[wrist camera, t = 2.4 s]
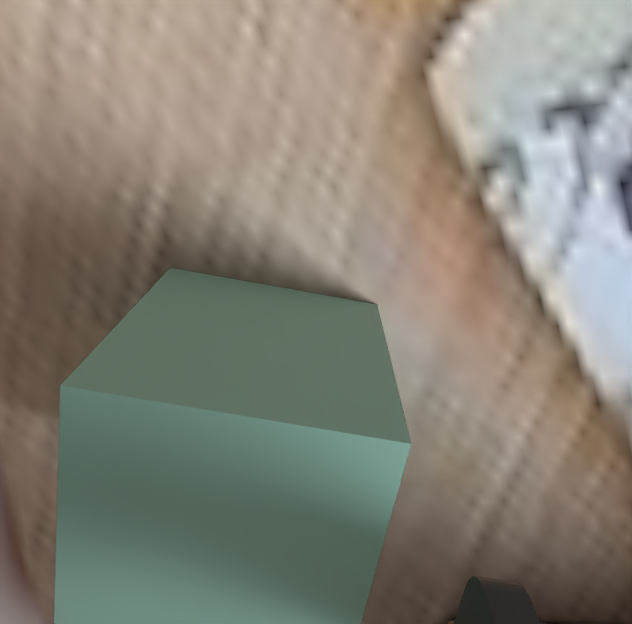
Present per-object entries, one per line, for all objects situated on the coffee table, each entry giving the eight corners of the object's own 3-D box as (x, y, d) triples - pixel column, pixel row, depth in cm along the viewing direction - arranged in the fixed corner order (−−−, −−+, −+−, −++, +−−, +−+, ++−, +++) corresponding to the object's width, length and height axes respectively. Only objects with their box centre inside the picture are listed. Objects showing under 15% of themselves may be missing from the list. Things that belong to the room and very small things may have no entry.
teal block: (170, 266, 14) (60, 386, 8) (376, 303, 14) (411, 444, 8) (154, 444, 15) (53, 644, 10) (337, 474, 16) (343, 686, 10)
